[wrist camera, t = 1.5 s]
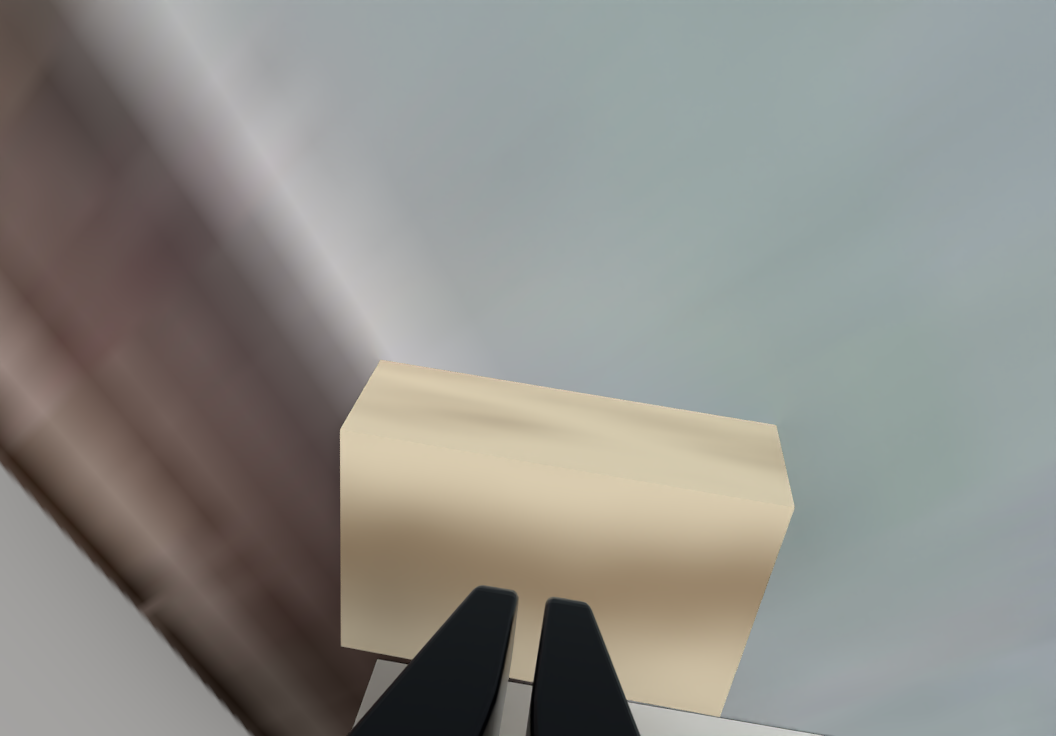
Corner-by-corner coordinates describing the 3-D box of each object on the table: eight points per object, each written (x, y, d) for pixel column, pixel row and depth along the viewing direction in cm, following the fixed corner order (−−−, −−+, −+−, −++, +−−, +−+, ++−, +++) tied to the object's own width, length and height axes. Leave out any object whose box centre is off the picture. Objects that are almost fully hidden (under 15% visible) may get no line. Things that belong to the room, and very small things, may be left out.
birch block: (711, 614, 24) (720, 717, 21) (378, 555, 25) (341, 646, 22) (774, 418, 21) (794, 507, 18) (384, 353, 21) (339, 429, 18)
